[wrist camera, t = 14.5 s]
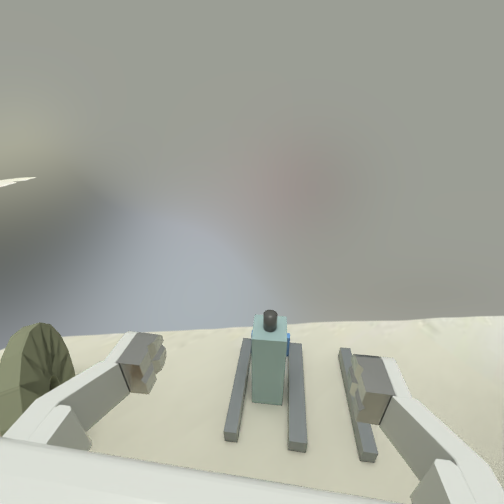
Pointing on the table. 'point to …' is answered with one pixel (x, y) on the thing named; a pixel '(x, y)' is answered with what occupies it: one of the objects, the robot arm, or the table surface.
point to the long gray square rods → (295, 401)
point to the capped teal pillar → (268, 357)
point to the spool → (31, 370)
